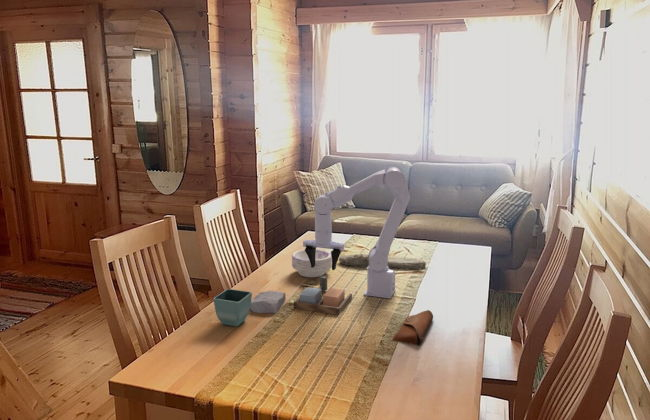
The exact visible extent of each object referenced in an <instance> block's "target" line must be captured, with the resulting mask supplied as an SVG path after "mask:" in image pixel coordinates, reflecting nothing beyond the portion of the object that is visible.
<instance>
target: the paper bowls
mask: <svg viewBox="0 0 650 420" xmlns="http://www.w3.org/2000/svg"><path fill="white" fill-rule="evenodd" d="M291 267H292V268H293V269H294V270H295V271H297V273H298V274H299V275H300V276H301V277H304V278H305V277H306V278H320V277H321V276H325V274H326V272H327V271H329V270H330V269H332V257H331V252H330V251H326V250H321V249H316V253H315V267H313V268H311V263H310V260H309V258H308V255H307V254H306V252H305V249H300V250H297V251H294V252H293V253H292V255H291Z"/></svg>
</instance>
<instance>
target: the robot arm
mask: <svg viewBox="0 0 650 420" xmlns="http://www.w3.org/2000/svg"><path fill="white" fill-rule="evenodd" d="M403 173H404V172H402V170H401V169H400V168H399V167H397V166H389V167H388V168H387V167H386V168H385V169H382V170H379V171H377V172H374V173H373V174H371V175H369V176H367V177H365V178H363V179H362V180H359V181H357V182H355V183H353V184H352V185H350V186H349V185H346V184H343V185H341V184H339V185H337V186H336V188H335V189H333V190H331V191H325V192H324V194H321V195H319V196H317V198H316V199H315V201H314V205H313V206H314V207H313V208H314V210H315V212H314V215H315V217H314V239H311V240H310V239H305V240H303V241H302V247H303V248H304V250H305V252H306V254H307V255H308V258H309V260H310V263H311V268H313V267H315V253H316V250H317V248H319V249H328V250H329V249H330V250H331V251H330V254H331V270H332V271H335V270H336V268H337V263H338V262H339V258H340V256H341V254H342V252H343V251H344V250H345V243H340V242H336V241H333V237H332V236H333V234H332V233H333V232H332V231H333V230H332V227H333V226H332V224H333V223H332V222H333V221H332V220H333V219H332V218H333V217H332V209H336V208H338V207H340V206H342V205H344V204H346V203H349V202H350V201H352V200H353V198H354V196H355V195H358V194H359V193H361V192H364V191H366V190H369V189H370V188H373V187H380V188H381V187H382V188H385V186H386V187H387V189H388V190H390V191H391V193H392V195H393V197H394V199H393V202H392V204H391V208H390V209H389V212H388V214H387V216H386V219H385V222H384V224H383V227H382V230H381V233H380V234H379V237H378V239H377V241H376V242H375V244H374V246H373V247H372V248H370V250H369V253H368V254H369V266H368V267H367V270H366V271H367V281H366V282H367V283H366V284H367V285H366V289H365V292H363V296H367V297H368V296H370V297H377V298H384V299H392V297H393V295H394V293H395V291H396V271H395V269H391V268H389V267H388V266H387V264H388V260H387V258H388V256H389V254H390V251H391V247H392V244H393V242H394V238H395V237H396V235H397V231H398V230H399V227H400V224H401V222H402V219H403V217H404V215H405V212H406V209H407V207H408V205H409V203H410V201H411V196H410V191H409V187H408V186H409V185H408V183H407V179H406V177H405V174H403Z"/></svg>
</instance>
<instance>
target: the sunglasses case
mask: <svg viewBox="0 0 650 420" xmlns="http://www.w3.org/2000/svg"><path fill="white" fill-rule="evenodd" d="M433 319H434V314H433V312H432V311H431V310H429V309H427V310H424V311H420V312H418V313H417V314H413V315H410V316H409V315H408V316H407V317H406V318H405V319H404V321H403V323H402V324H401V326H400V327H399V329H398V330H397V331H396V333H395V334H394V336H393V337H392V341H393V342H399V343H405V344H409V345H415V346H418V347H419V346H420V345H422V343H423V340H424V338H425V336H426V334H427V332H428V330H429V327H430V326H431V323H432V322H433Z"/></svg>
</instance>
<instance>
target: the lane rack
mask: <svg viewBox="0 0 650 420" xmlns="http://www.w3.org/2000/svg"><path fill="white" fill-rule="evenodd" d="M352 299H353V293H349V294H348V295H347V296H346V297H345V300H344V301H343V302H342V303H341V304H340V306H339V307H333V306H326V305H323V297H322V299H321V300H320V301H319V302H318V303H317V304H312V303H305V302H300V297H299V298H298V299H296V300H294V301H293V309H295V308H297V309H296V310H302V309H303V310H304V311H311V312H318V313H323V314H331V315H337V316H339V315H340V314H341V313H342V312H343V310H344V309H345V308H346V307H347V305H349V303H350V302H351V301H352ZM303 310H302V311H303Z"/></svg>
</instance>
